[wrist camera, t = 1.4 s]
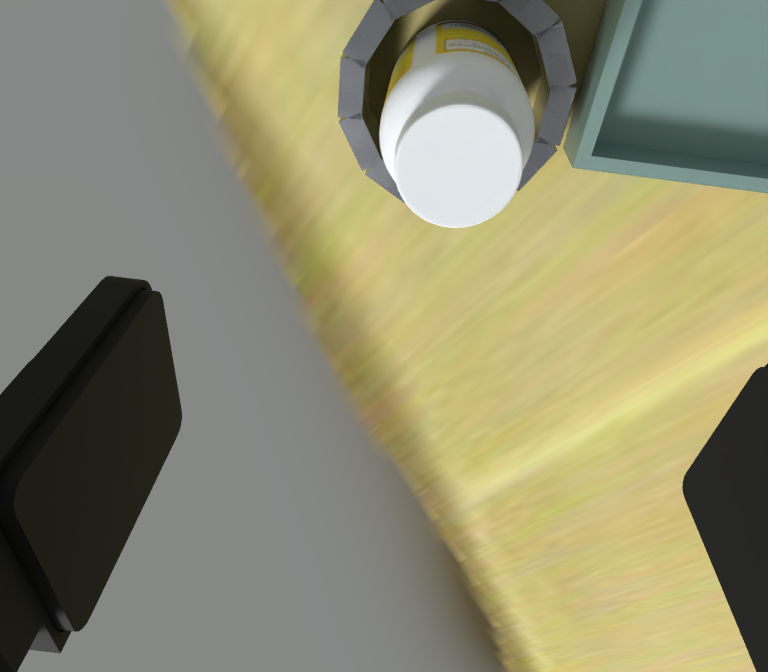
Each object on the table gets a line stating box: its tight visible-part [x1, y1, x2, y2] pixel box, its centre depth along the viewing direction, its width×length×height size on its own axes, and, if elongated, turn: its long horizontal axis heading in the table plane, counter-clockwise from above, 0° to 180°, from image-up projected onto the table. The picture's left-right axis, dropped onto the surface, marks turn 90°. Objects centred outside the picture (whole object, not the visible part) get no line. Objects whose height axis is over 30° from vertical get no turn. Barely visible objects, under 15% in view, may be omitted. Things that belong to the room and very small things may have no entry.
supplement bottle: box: [379, 20, 535, 228], centre depth 21 cm, size 5×5×10 cm
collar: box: [338, 0, 577, 204], centre depth 24 cm, size 9×9×2 cm
